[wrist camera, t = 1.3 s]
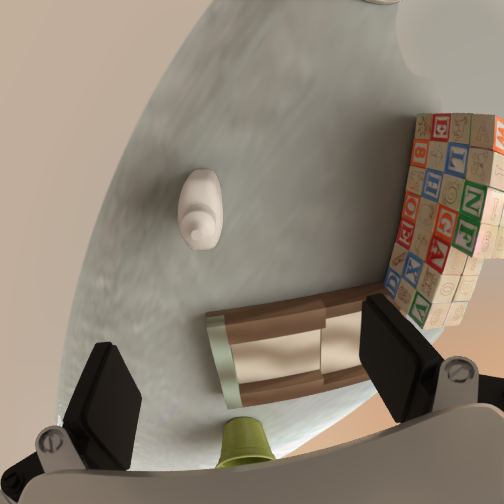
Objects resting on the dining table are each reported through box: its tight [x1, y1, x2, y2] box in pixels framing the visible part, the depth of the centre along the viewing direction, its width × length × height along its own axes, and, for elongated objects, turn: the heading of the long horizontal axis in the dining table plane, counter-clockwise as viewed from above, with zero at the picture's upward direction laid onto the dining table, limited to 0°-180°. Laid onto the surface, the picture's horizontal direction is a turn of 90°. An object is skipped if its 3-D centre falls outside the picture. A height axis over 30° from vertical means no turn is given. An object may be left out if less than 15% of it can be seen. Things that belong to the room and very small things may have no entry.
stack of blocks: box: [383, 113, 504, 329], centre depth 26 cm, size 21×6×12 cm, turn 174°
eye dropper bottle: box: [178, 169, 223, 250], centre depth 24 cm, size 4×6×12 cm
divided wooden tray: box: [206, 281, 406, 409], centre depth 36 cm, size 14×24×3 cm, turn 97°
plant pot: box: [215, 417, 277, 468], centre depth 39 cm, size 9×9×9 cm
